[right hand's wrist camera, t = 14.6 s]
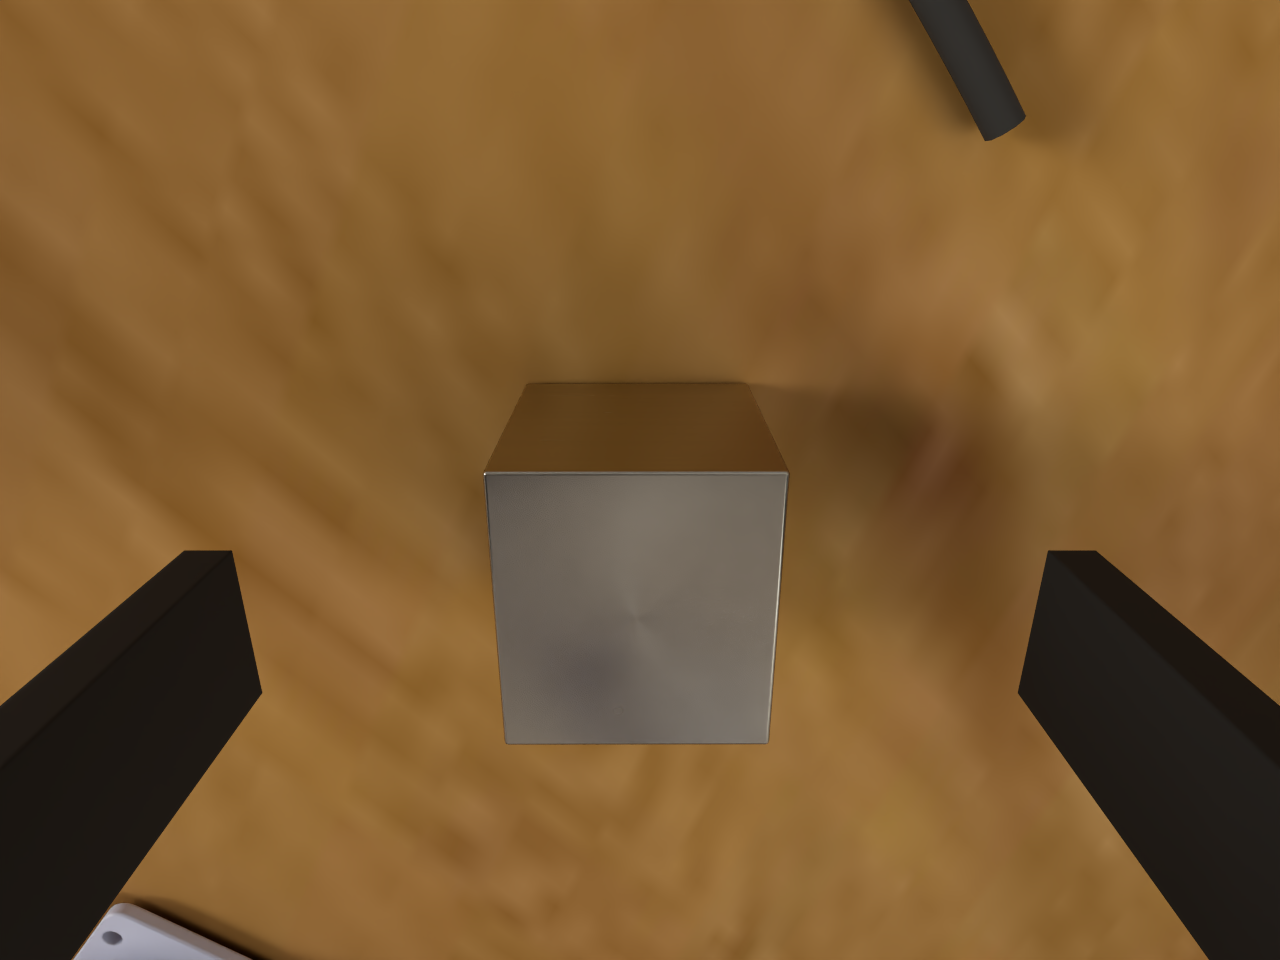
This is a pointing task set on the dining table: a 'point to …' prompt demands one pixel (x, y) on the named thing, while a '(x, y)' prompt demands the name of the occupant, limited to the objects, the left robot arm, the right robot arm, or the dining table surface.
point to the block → (636, 564)
